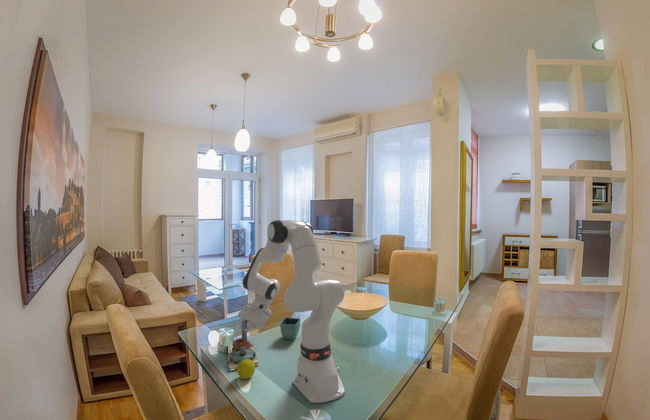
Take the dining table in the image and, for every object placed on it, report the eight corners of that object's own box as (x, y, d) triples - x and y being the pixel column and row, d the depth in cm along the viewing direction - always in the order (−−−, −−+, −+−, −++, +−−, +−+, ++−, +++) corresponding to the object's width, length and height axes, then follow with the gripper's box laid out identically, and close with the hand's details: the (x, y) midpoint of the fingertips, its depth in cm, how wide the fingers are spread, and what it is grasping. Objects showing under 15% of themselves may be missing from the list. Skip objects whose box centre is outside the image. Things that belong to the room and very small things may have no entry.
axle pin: (247, 341, 151) (247, 321, 151) (241, 342, 150) (241, 322, 150) (246, 339, 153) (246, 320, 153) (241, 339, 152) (241, 320, 152)
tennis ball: (243, 384, 114) (243, 366, 114) (233, 377, 119) (233, 360, 118) (258, 377, 119) (258, 360, 119) (248, 370, 124) (248, 354, 124)
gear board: (258, 365, 127) (258, 351, 127) (229, 371, 123) (229, 357, 123) (251, 343, 148) (251, 331, 148) (226, 348, 143) (226, 335, 143)
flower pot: (296, 342, 149) (295, 325, 149) (279, 341, 151) (279, 323, 151) (300, 335, 158) (300, 318, 158) (285, 333, 160) (285, 317, 159)
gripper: (245, 299, 163) (229, 321, 156) (266, 307, 149) (250, 333, 142) (252, 305, 167) (236, 327, 160) (273, 314, 153) (258, 339, 146)
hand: (243, 330), depth 151 cm, fingers closed on axle pin, 3 cm apart
